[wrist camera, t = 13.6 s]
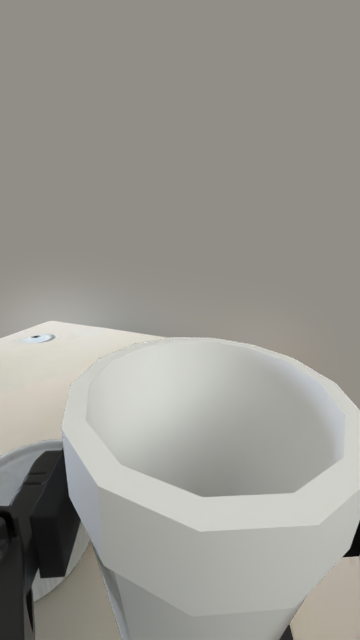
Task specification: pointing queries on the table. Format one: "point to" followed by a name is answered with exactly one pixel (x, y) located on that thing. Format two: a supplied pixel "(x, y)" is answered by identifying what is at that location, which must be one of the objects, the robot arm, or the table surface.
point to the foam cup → (211, 485)
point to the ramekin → (3, 482)
